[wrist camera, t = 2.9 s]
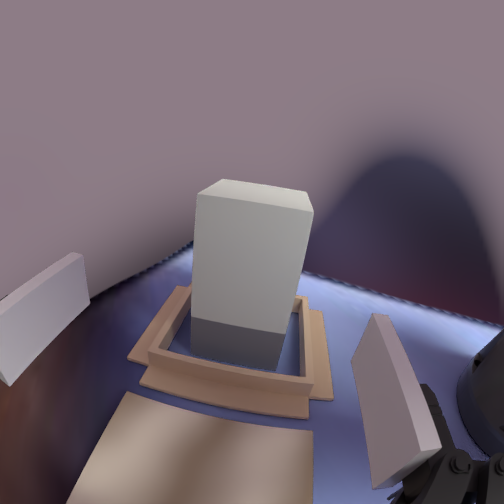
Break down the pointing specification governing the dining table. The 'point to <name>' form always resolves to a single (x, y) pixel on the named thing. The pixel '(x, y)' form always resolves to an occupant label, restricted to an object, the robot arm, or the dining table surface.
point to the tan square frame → (231, 377)
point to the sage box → (246, 270)
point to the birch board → (194, 460)
